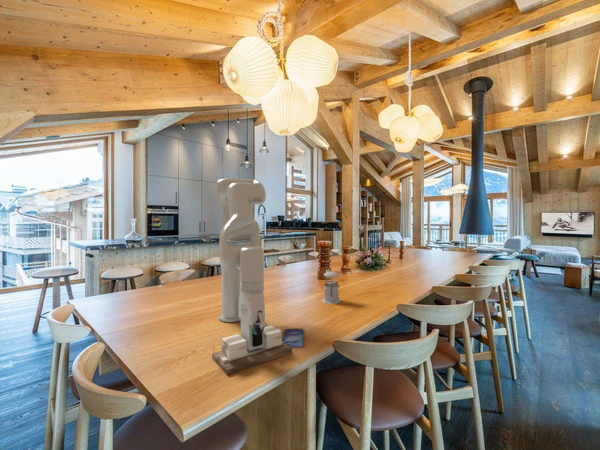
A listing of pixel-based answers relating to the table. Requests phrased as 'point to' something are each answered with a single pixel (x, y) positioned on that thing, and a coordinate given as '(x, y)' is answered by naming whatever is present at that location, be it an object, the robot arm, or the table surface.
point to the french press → (331, 288)
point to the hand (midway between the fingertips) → (252, 341)
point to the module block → (249, 335)
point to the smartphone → (294, 338)
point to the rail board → (241, 358)
